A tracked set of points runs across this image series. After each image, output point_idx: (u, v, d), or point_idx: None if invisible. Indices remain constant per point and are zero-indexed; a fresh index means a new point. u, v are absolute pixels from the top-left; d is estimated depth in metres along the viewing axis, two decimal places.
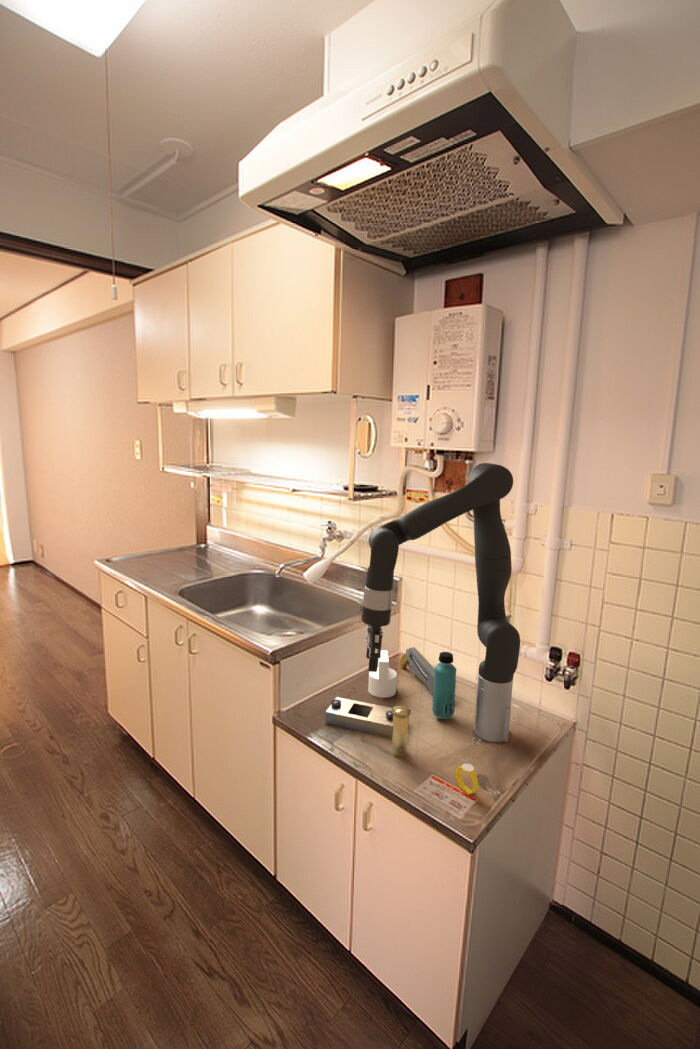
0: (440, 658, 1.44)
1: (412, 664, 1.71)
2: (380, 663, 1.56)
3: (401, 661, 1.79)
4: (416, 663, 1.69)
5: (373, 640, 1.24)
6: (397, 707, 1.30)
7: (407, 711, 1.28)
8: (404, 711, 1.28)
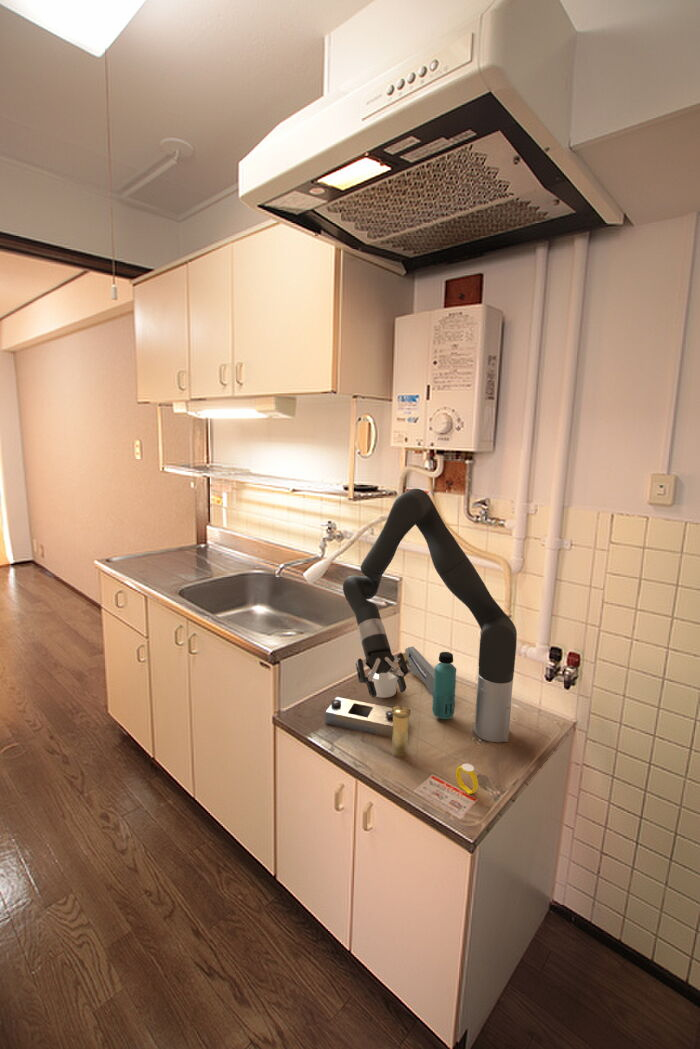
0: (440, 658, 1.44)
1: (411, 663, 1.71)
2: None
3: None
4: (415, 662, 1.70)
5: (356, 666, 1.38)
6: (397, 707, 1.30)
7: (407, 711, 1.28)
8: (404, 711, 1.28)
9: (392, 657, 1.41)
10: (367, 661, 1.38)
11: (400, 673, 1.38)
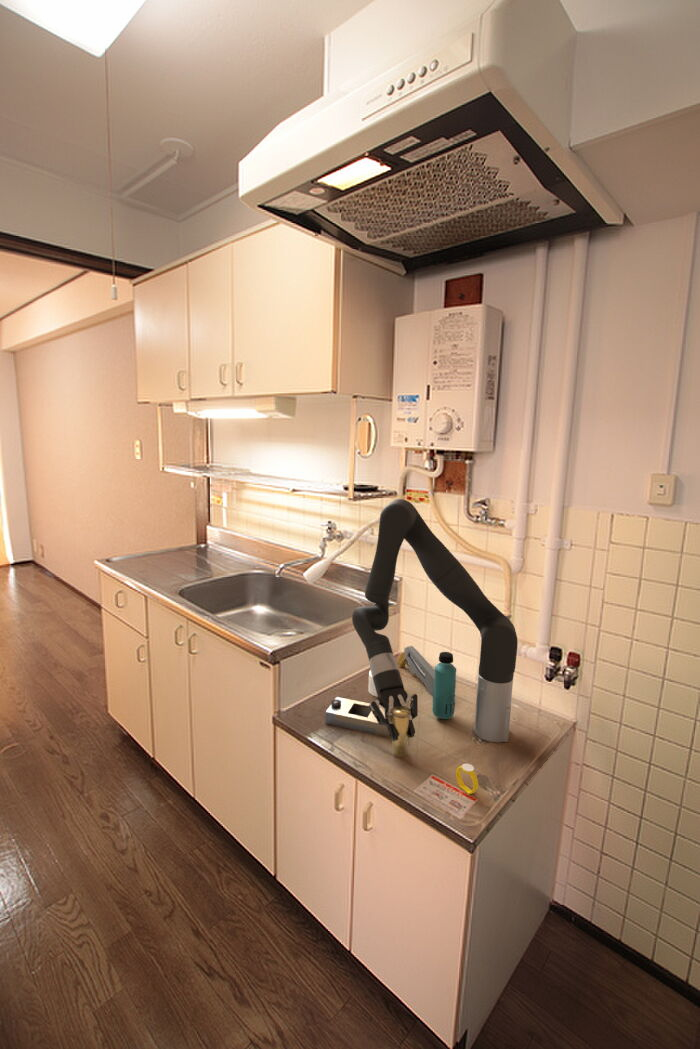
0: (440, 658, 1.44)
1: (410, 663, 1.72)
2: None
3: (399, 660, 1.80)
4: (414, 662, 1.70)
5: (371, 709, 1.31)
6: (397, 707, 1.30)
7: (407, 711, 1.28)
8: (404, 711, 1.28)
9: (405, 695, 1.34)
10: (380, 700, 1.31)
11: None
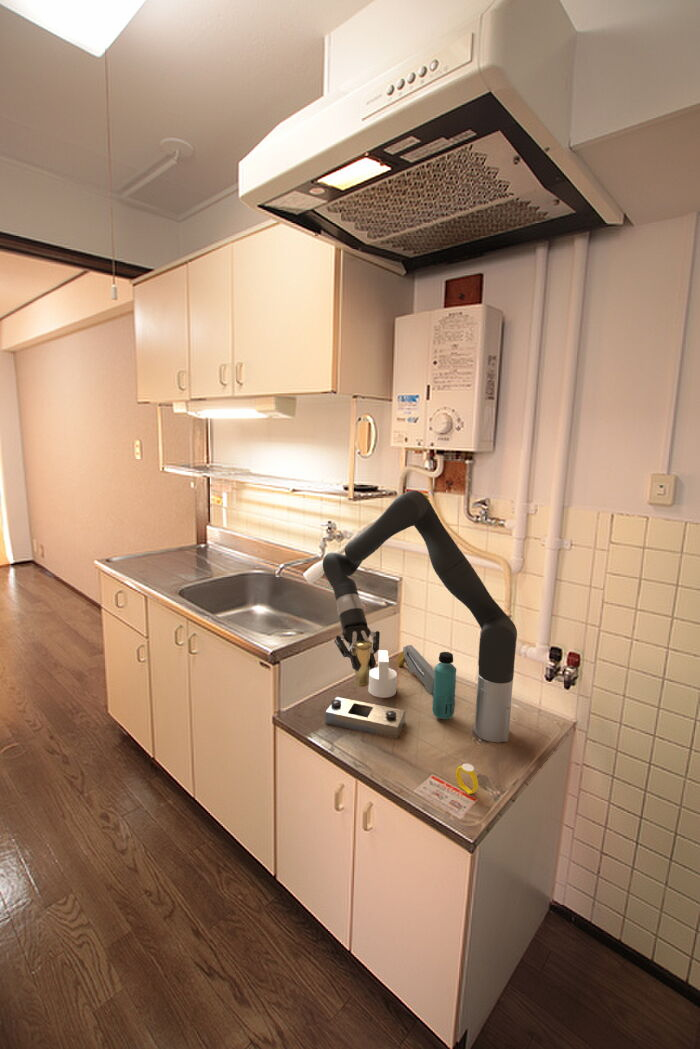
0: (440, 658, 1.44)
1: (409, 662, 1.73)
2: (380, 663, 1.56)
3: (398, 659, 1.81)
4: (413, 661, 1.71)
5: (336, 643, 1.42)
6: (360, 641, 1.41)
7: (369, 644, 1.39)
8: (366, 644, 1.39)
9: (368, 631, 1.45)
10: (344, 635, 1.42)
11: (370, 650, 1.41)
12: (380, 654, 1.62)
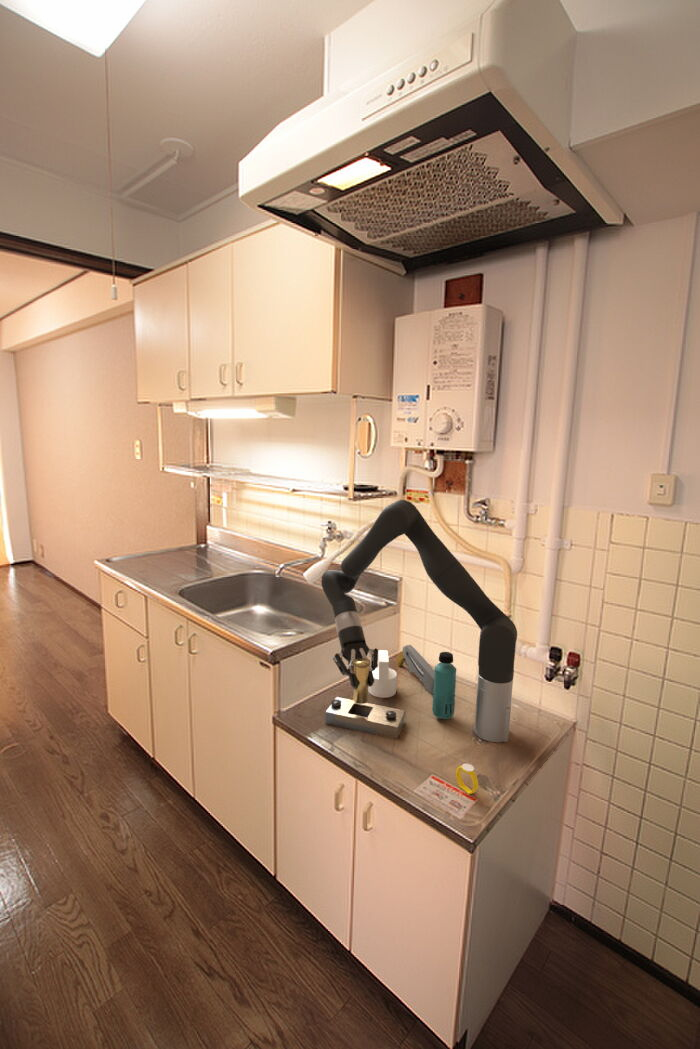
0: (440, 658, 1.44)
1: (408, 661, 1.73)
2: (380, 663, 1.56)
3: (398, 658, 1.81)
4: (412, 660, 1.71)
5: (335, 661, 1.43)
6: (358, 659, 1.42)
7: (367, 662, 1.41)
8: (364, 662, 1.41)
9: (367, 649, 1.46)
10: (343, 653, 1.44)
11: None
12: (380, 654, 1.62)
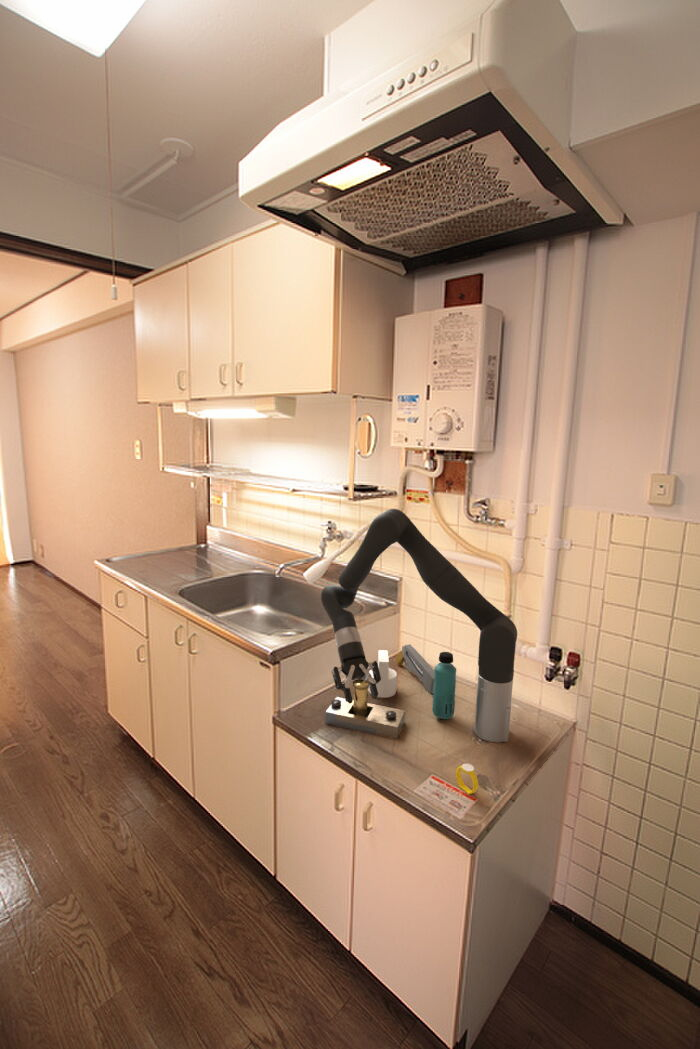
0: (440, 658, 1.44)
1: (408, 661, 1.73)
2: (380, 663, 1.56)
3: (397, 658, 1.81)
4: (412, 660, 1.72)
5: None
6: (358, 680, 1.43)
7: (366, 684, 1.42)
8: (364, 684, 1.42)
9: (366, 664, 1.47)
10: (342, 668, 1.45)
11: (372, 681, 1.44)
12: (380, 654, 1.62)
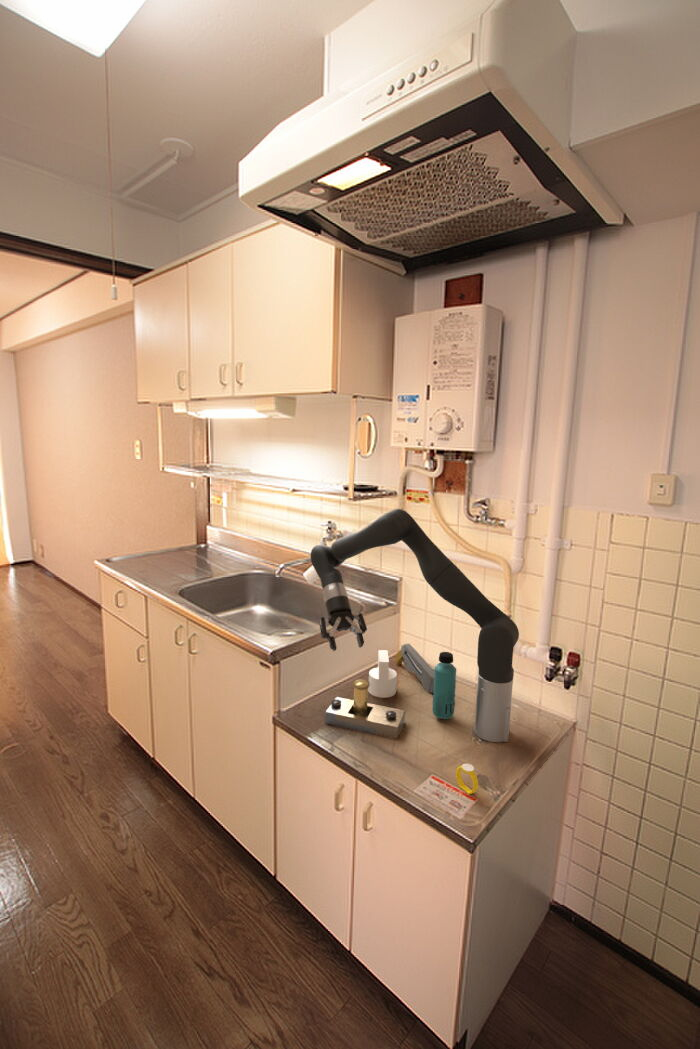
0: (440, 658, 1.44)
1: (407, 660, 1.74)
2: (380, 663, 1.56)
3: (396, 657, 1.82)
4: (411, 659, 1.72)
5: None
6: (358, 680, 1.44)
7: (366, 683, 1.42)
8: (364, 684, 1.42)
9: (352, 616, 1.57)
10: (329, 619, 1.54)
11: (359, 630, 1.54)
12: (380, 654, 1.62)
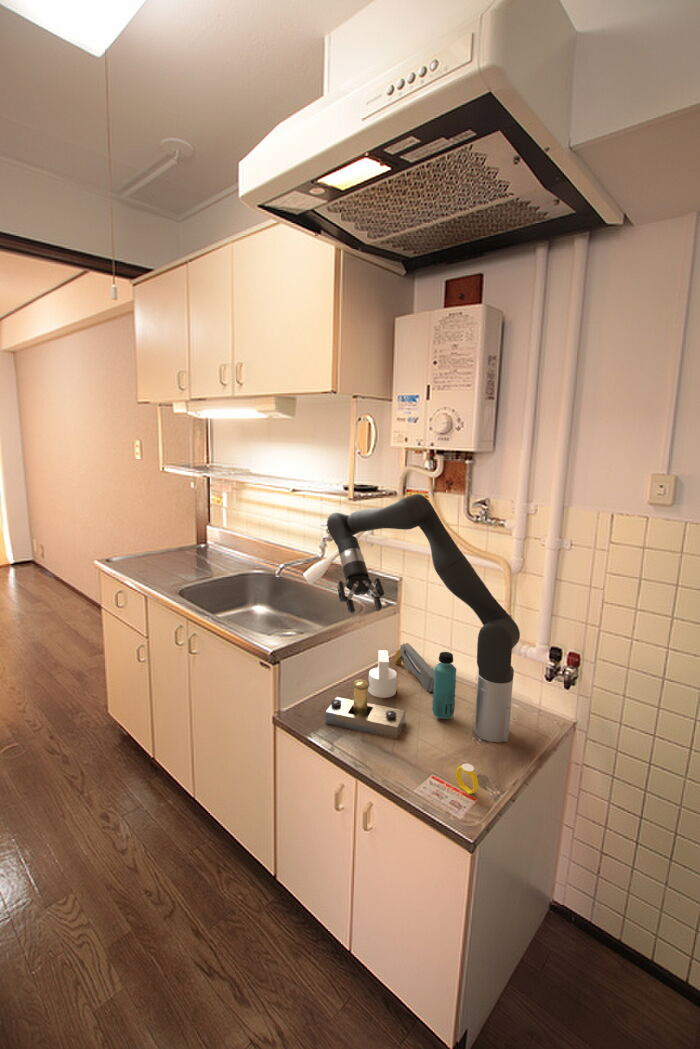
0: (440, 658, 1.44)
1: (406, 659, 1.74)
2: (380, 663, 1.56)
3: (395, 657, 1.82)
4: (410, 658, 1.73)
5: None
6: (358, 680, 1.44)
7: (366, 684, 1.42)
8: (364, 684, 1.42)
9: (370, 581, 1.58)
10: (347, 583, 1.55)
11: (376, 594, 1.56)
12: (380, 654, 1.62)
